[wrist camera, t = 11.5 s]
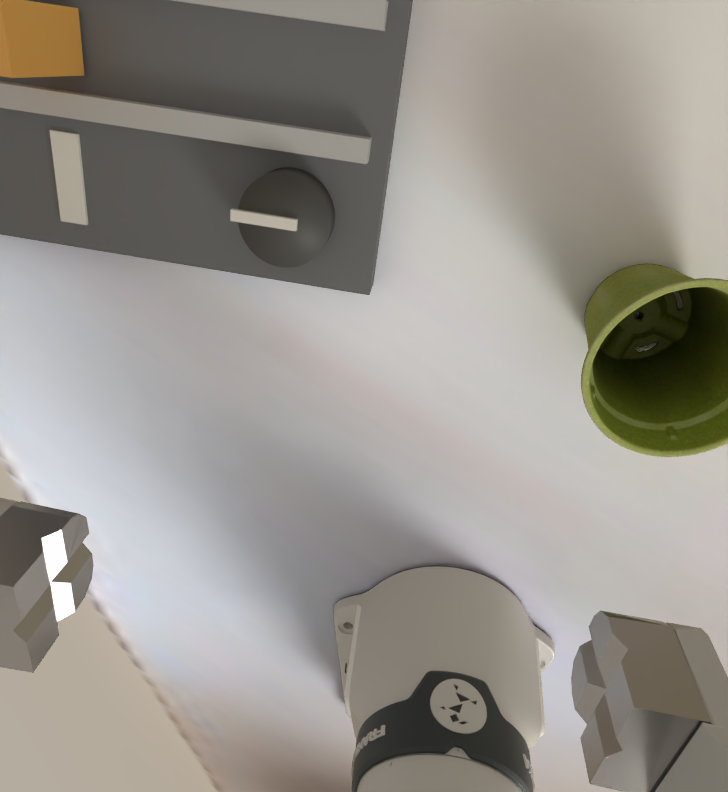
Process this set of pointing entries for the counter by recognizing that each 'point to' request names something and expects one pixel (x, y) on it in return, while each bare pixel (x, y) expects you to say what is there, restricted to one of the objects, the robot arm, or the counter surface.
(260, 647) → the counter surface
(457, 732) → the robot arm
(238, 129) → the console board
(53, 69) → the fader knob
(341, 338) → the counter surface
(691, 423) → the plant pot
